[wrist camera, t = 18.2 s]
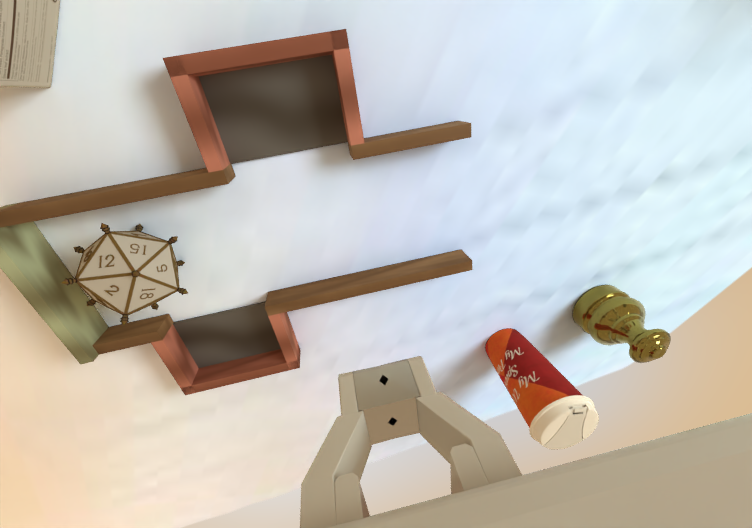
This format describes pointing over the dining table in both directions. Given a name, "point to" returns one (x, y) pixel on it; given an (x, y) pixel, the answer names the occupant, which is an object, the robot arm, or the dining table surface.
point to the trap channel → (219, 150)
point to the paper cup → (541, 392)
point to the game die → (128, 271)
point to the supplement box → (27, 42)
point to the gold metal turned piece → (619, 323)
